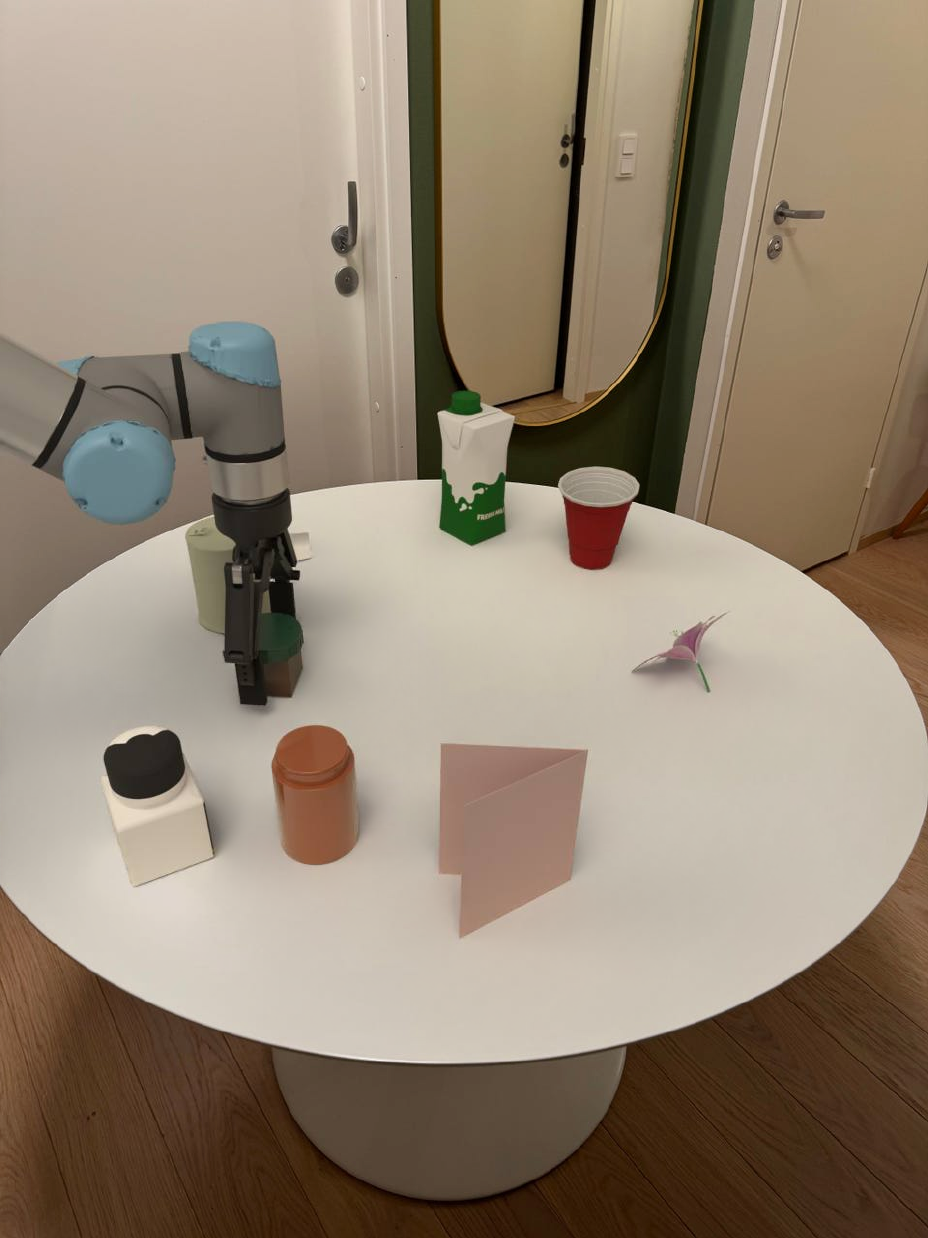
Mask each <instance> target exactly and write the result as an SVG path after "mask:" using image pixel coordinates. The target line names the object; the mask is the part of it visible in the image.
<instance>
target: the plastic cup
mask: <svg viewBox="0 0 928 1238" xmlns="http://www.w3.org/2000/svg"><path fill="white" fill-rule="evenodd" d="M557 487H558V490H559V492H560V493H561V495H562V499H563V504H564V512H565V524H566V532H567V539H568V552H569V553H568V555H569V556H570V561H571V562H572V564H574V565H575V566H577V567H579V568H582V569H586V570H593V571H594V570H601V569H605V568H607V567H608V566H609V565H611V562H612V561H613V558H614V555H615V552H616V549H617V546H618V544H619V542H620V539H621V536H622V533H623V532H622V531H623V530H624V526H625V523H626V521H627V520H626V519H627V517H628V514H629V512H630V510H631V506H632V504H633V502H634V499H635V498H636V497H637V496H638V494H639V490H640V483H639V482H638V480H637V479H636V477H635V476H633V475H631V474H630V473H629V472H626V471H624V470H621V469H617V468H613V467H607V466H606V467H605V466H587V467H580V468H577V469H574V470H570V471H567V473H565V474H564V475H563V476H561V477H559V481H558V485H557Z"/></svg>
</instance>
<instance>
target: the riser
mask: <svg viewBox="0 0 928 1238" xmlns="http://www.w3.org/2000/svg"><path fill="white" fill-rule="evenodd" d="M302 653H303V652H302V649H301V650H300V651H299V652H298V653H297V654H296V655H294V656H293V657H291V658H289V659H287V660H284V661H281V662H277V663H271V664H263V667H264V675H265V684H266V692H267V697H276V698H293V695H294V692H295V689H296V687H297V684H298V683H299V680H300V677H301V673H302V671H303V669H304V665H303V664H304V663H303V654H302Z"/></svg>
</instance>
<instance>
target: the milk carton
mask: <svg viewBox="0 0 928 1238" xmlns="http://www.w3.org/2000/svg"><path fill="white" fill-rule="evenodd" d="M481 401H482V396H481V394H480V393H479V392H476V391H473V390H458V391H455V392H453V393H452V394H451V406H450V407H449V408H445V409H443V410H440V411H438V412H437V418H438V424H439V431H440V438H441V502H440V513H439V527H438V528H439V529H440V530H442V531H443V532H446V533H448V534H449V535H451V536H453V537H455V538H456V539H458V540H460V541H462V542H464V543H465V544H467V545H469V546H474V545H477V544H479V543H481V542H483V541H487V540H488V539H491V538H493V537H495V536H498V535H500V534H503V533H505V532H506V511H505V509H506V508H505V507H506V506H505V494H506V479H507V477H506V476H507V462H508V461H507V458H508V447H509V443H510V438H511V435H512V431H513V427H514V423H515V419H516V415H512V414H511V413H507V412H505V411H504V410H503V409H500V408H497V407H494V406H492V405H490V404H486V403H484V402H481Z"/></svg>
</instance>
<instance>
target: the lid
mask: <svg viewBox="0 0 928 1238" xmlns="http://www.w3.org/2000/svg"><path fill="white" fill-rule="evenodd" d="M304 639H305V638H304V629H303V625H302V624H301V622H300V620H298V619H297V617H296V618H294V617H292V616H290V615H287V614H283V613H262V614H261V624H260V634H259V644H258V651H262V659H263V664H271V663H277V662H281V661H284V660H287V659H289V658H291V657H293V656H294V655H296V654H297V653H298V652H299V651H300V650H301V651H302V649H303V645H304V644H305V641H304Z"/></svg>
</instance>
